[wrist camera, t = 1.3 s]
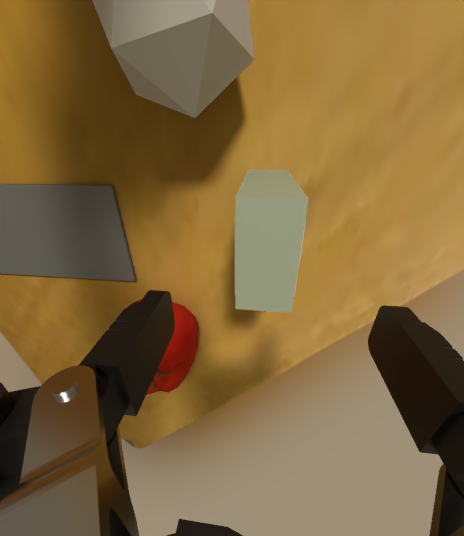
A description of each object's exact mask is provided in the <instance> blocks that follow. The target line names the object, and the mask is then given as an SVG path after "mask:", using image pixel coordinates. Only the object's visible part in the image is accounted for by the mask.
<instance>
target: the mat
mask: <svg viewBox="0 0 464 536" xmlns="http://www.w3.org/2000/svg"><path fill="white" fill-rule="evenodd" d="M0 274H17V275H34V276H52V277H69V278H86V279H103V280H121V281H136V280H137V279H136V275H135V271H134V267H133V263H132V259H131V255H130V251H129V246H128V242H127V238H126V234H125V230H124V226H123V222H122V218H121V214H120V210H119V206H118V202H117V198H116V194H115V190H114V186H113V185H50V184H0Z"/></svg>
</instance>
